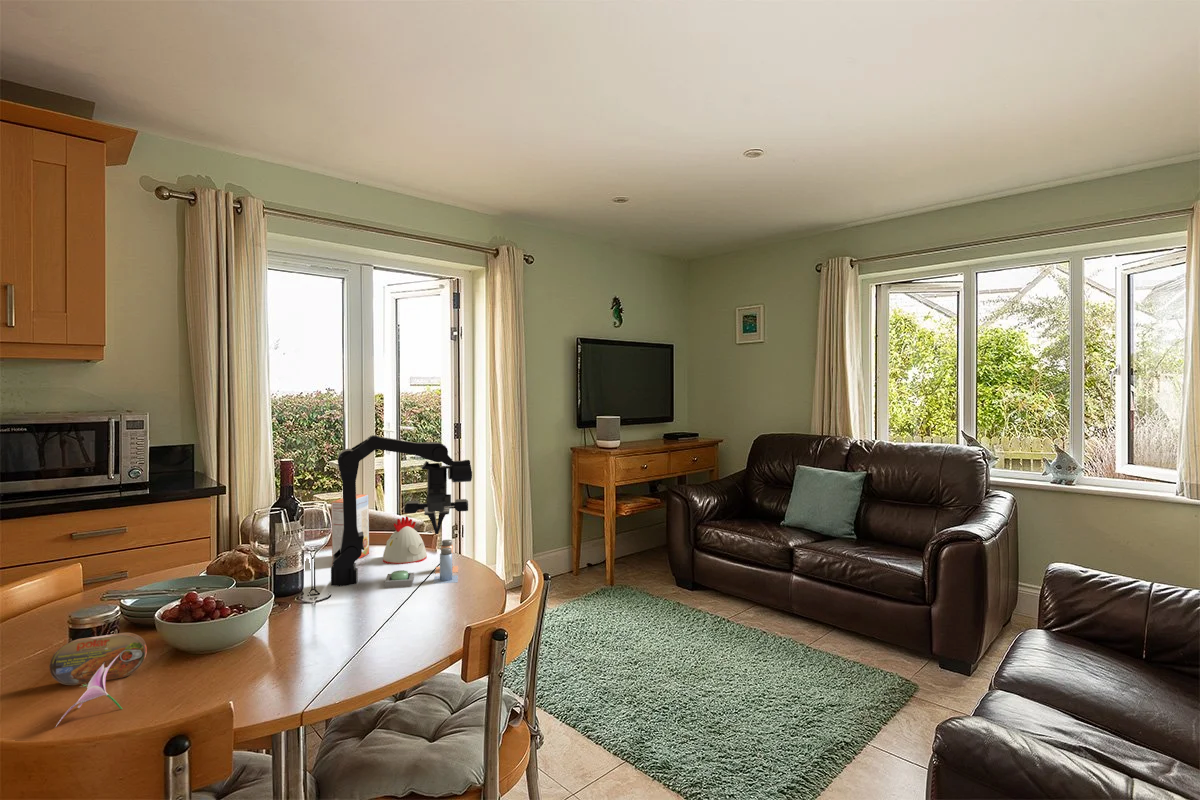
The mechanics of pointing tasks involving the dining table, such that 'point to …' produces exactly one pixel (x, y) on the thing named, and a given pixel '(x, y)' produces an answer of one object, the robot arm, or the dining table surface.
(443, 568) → the blue bottle
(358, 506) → the cracker box
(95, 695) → the lily
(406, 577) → the button
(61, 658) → the tin
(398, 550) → the kitchen timer
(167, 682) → the dining table surface
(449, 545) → the terracotta marker
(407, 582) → the cream board with squares
